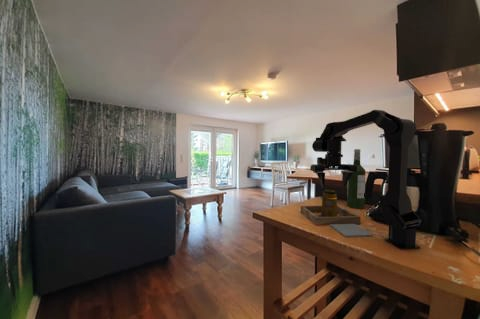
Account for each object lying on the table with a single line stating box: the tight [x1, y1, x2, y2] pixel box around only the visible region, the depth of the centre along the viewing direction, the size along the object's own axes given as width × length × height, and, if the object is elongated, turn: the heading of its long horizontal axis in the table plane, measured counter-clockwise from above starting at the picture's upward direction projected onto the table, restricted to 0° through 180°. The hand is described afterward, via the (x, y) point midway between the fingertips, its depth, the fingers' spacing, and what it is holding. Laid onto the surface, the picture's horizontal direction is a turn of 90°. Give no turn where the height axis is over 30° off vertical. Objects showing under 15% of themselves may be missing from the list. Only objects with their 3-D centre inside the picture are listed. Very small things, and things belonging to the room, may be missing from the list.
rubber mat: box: [329, 224, 374, 238], centre depth 74 cm, size 10×10×1 cm
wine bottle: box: [346, 148, 366, 210], centre depth 103 cm, size 8×8×30 cm
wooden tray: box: [300, 204, 361, 226], centre depth 87 cm, size 16×18×3 cm
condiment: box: [318, 189, 338, 217], centre depth 87 cm, size 7×8×12 cm
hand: (333, 187), depth 88 cm, fingers open, 9 cm apart
